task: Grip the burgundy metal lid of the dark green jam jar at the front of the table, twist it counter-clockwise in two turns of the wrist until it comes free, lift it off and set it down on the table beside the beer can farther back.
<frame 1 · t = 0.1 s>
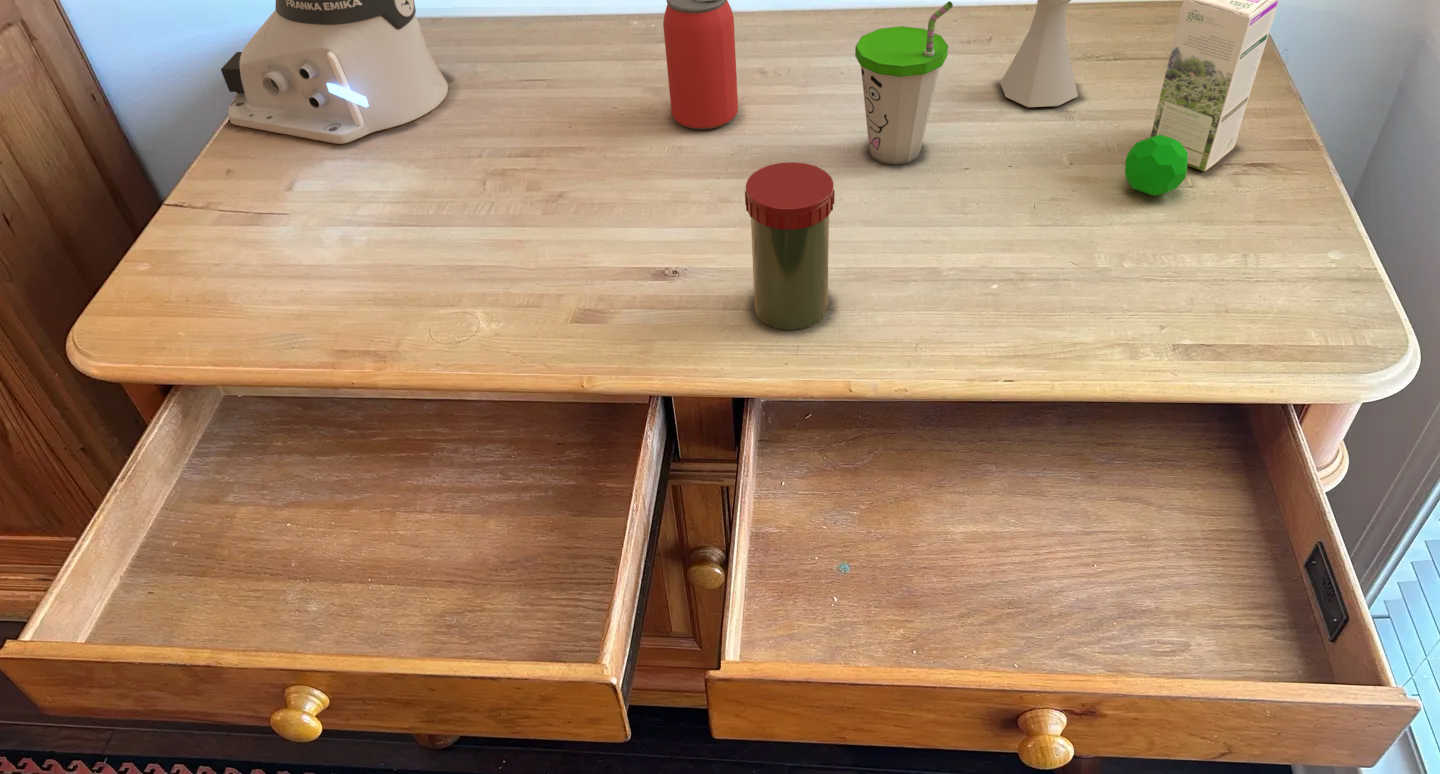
polyhedron: (1149, 192, 90), on the table
syrup box: (1189, 152, 95), on the table
beer can: (705, 117, 104), on the table
jar: (790, 307, 81), on the table
cup: (894, 154, 97), on the table
lid: (789, 189, 74), point 10 cm above the table, screwed on, not yet turned
flask: (1037, 94, 104), on the table
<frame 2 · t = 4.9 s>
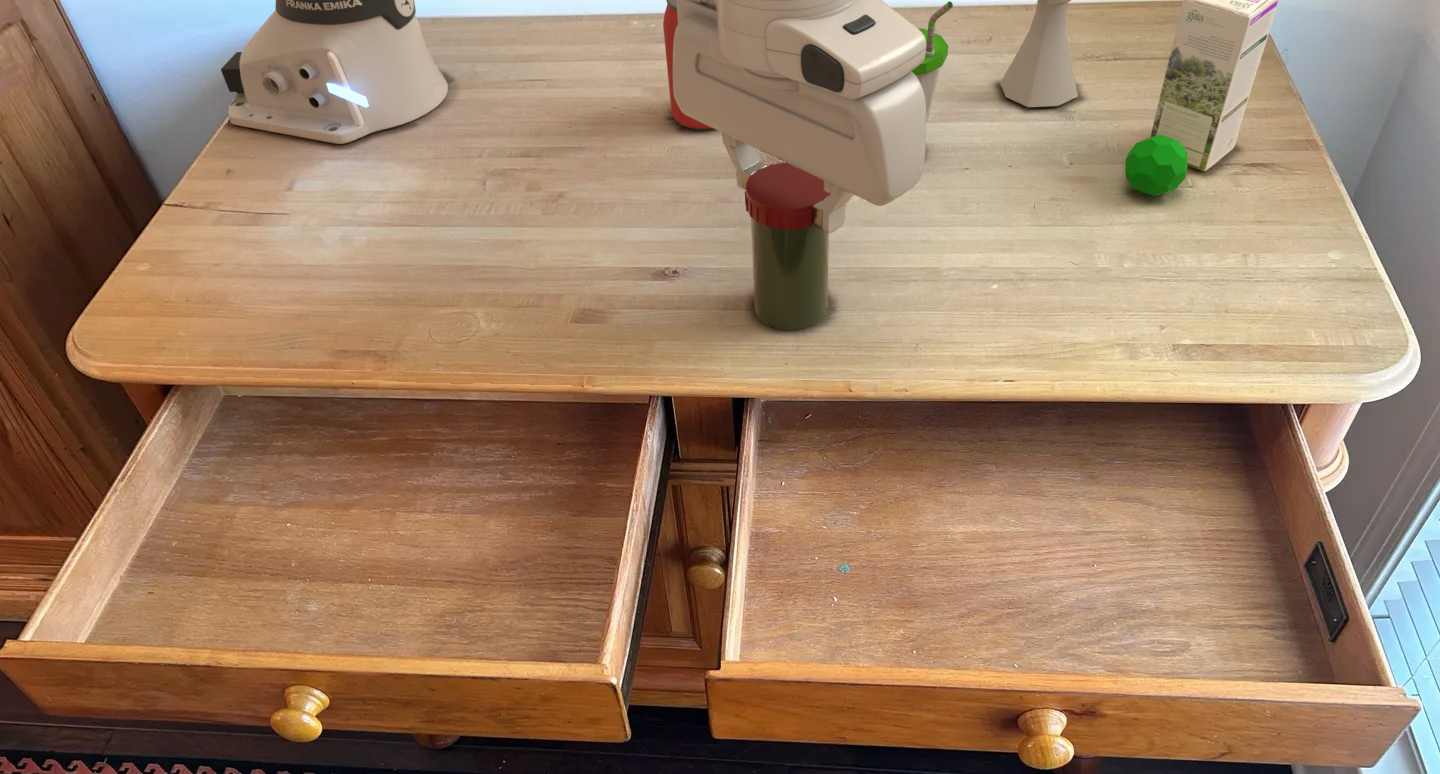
hand: (790, 206, 75), 9 cm above the table, tool pointing down, fingers closed on lid, 6 cm apart
lid: (789, 189, 74), point 10 cm above the table, screwed on, not yet turned, touching gripper
everything else where it was.
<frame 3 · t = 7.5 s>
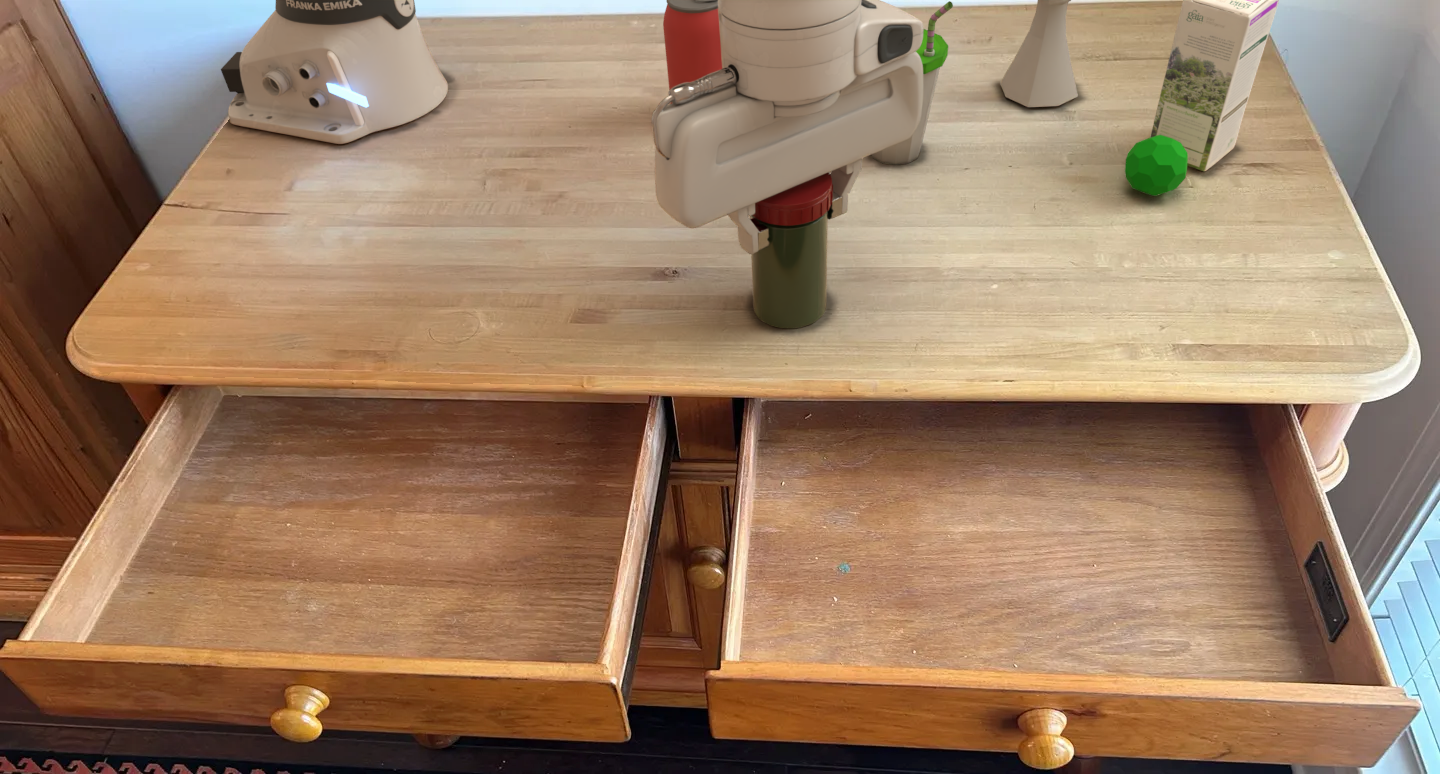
hand: (794, 230, 76), 7 cm above the table, tool pointing down, fingers closed on jar, 5 cm apart
jar: (789, 305, 81), on the table, touching gripper
lid: (788, 185, 74), point 11 cm above the table, turned 80° so far, risen 0.2 cm, still on its thread
everything else where it was.
when the fingers open (7 cm above the table, at t = 9.3 s): jar stays where it is, on the table.
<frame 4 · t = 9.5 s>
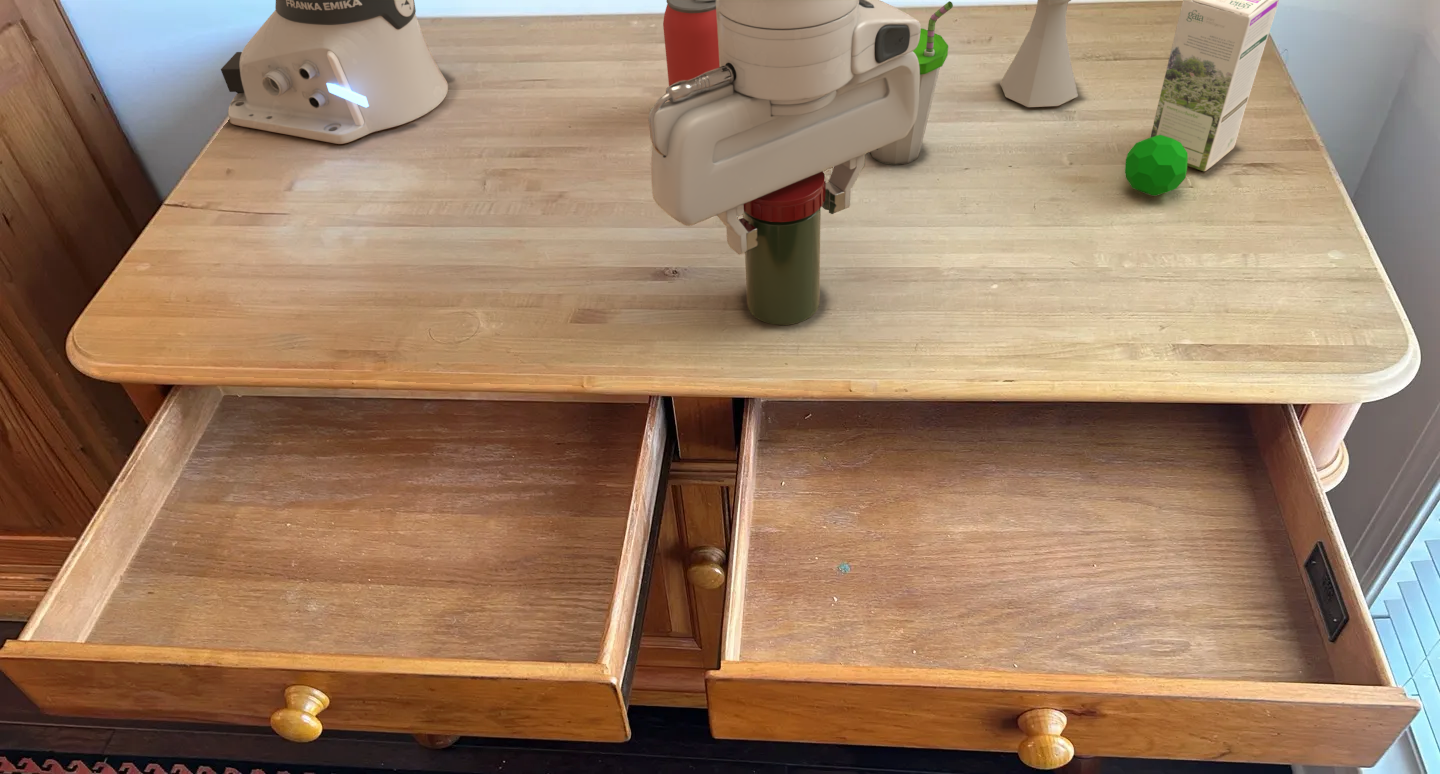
hand: (789, 227, 76), 7 cm above the table, tool pointing down, fingers open, 7 cm apart
jar: (783, 302, 82), on the table
everything else where it was.
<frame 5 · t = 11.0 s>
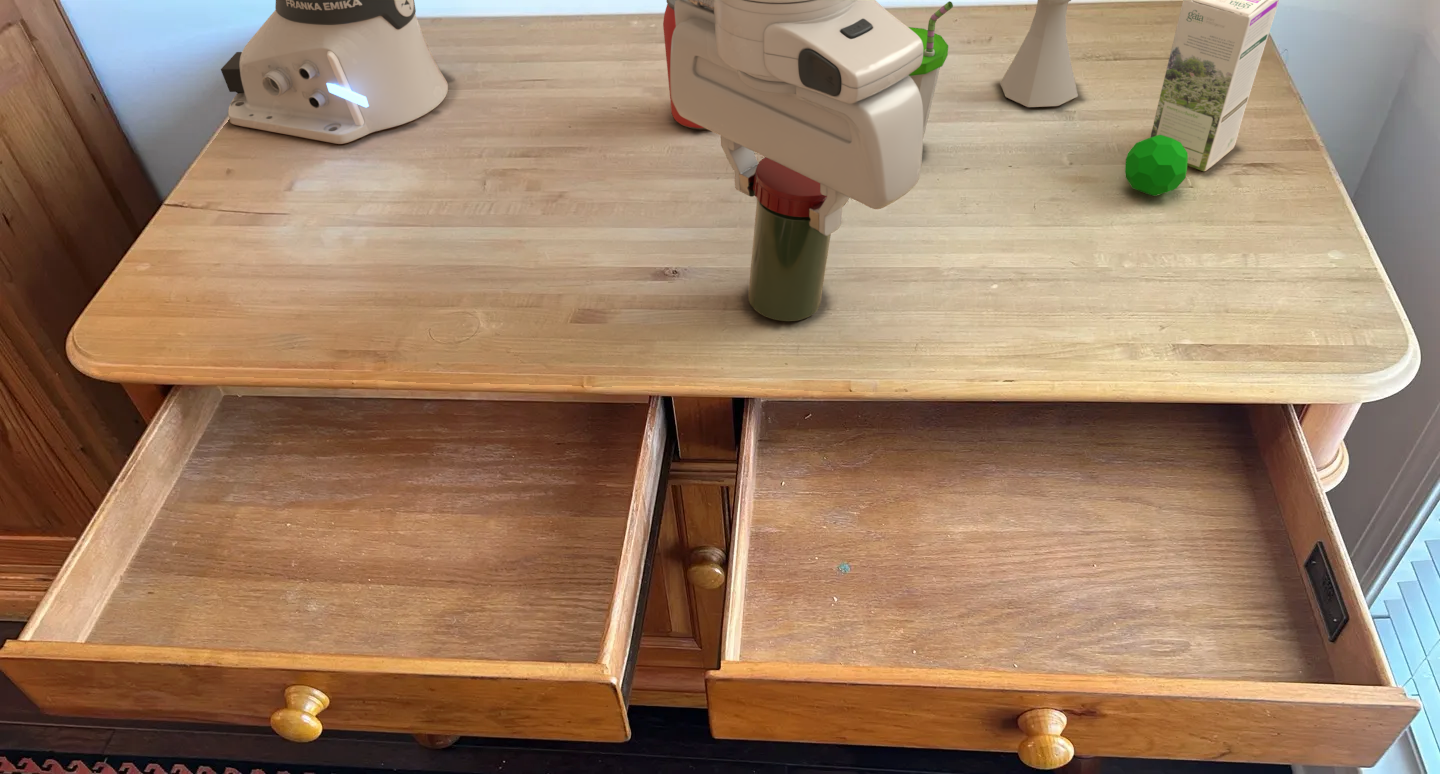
hand: (787, 209, 75), 9 cm above the table, tool pointing down, fingers closed on lid, 6 cm apart
jar: (784, 298, 81), on the table, tilted 6°
lid: (799, 177, 74), point 11 cm above the table, tilted 6°, turned 78° so far, risen 0.2 cm, still on its thread, touching gripper
everything else where it was.
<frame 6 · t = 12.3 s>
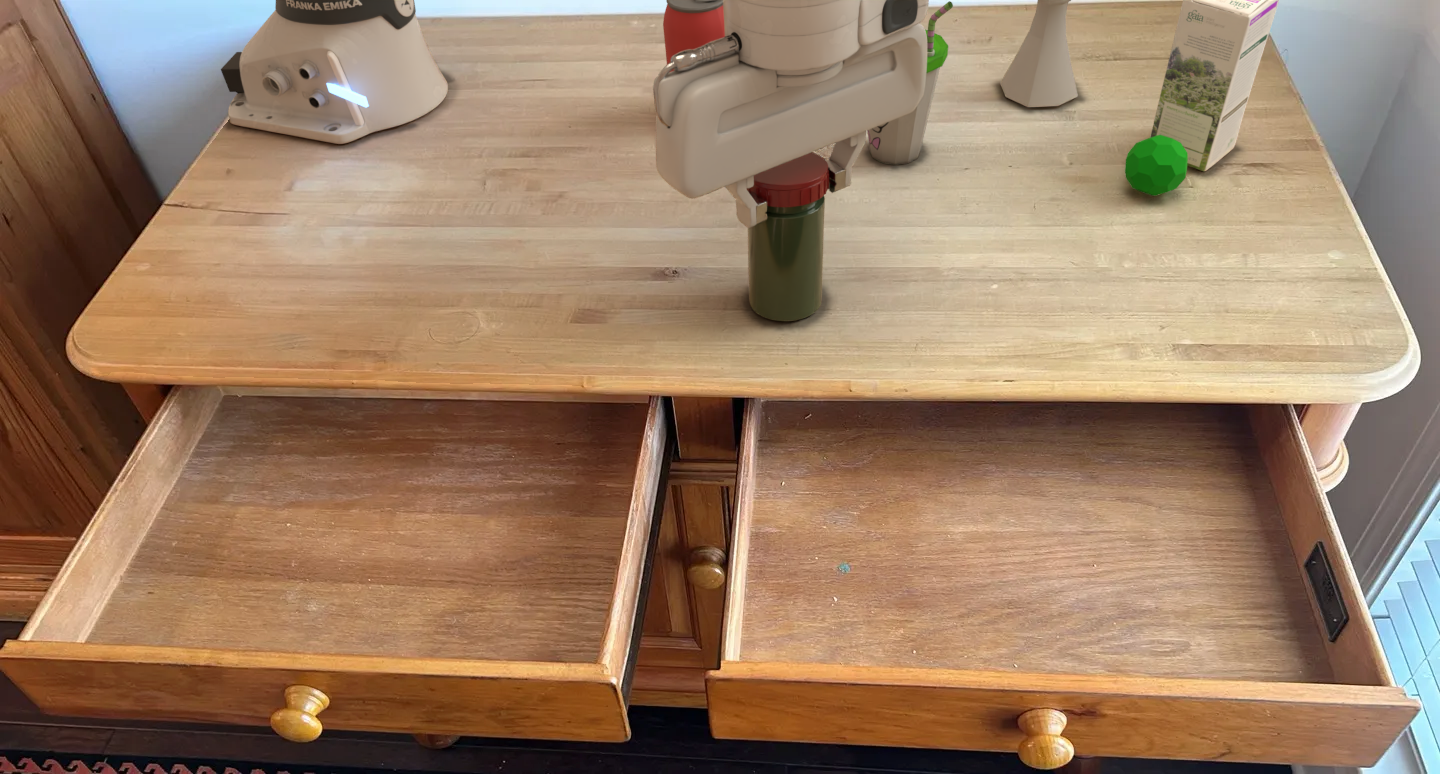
hand: (795, 203, 75), 9 cm above the table, tool pointing down, fingers closed on lid, 6 cm apart
jar: (785, 300, 82), on the table, touching lid
lid: (784, 171, 75), point 11 cm above the table, tilted 6°, off its thread, touching gripper, jar
everything else where it was.
when the fingers open (0 cm above the table, at t = 21.3 s): lid stays where it is, point 1 cm above the table.
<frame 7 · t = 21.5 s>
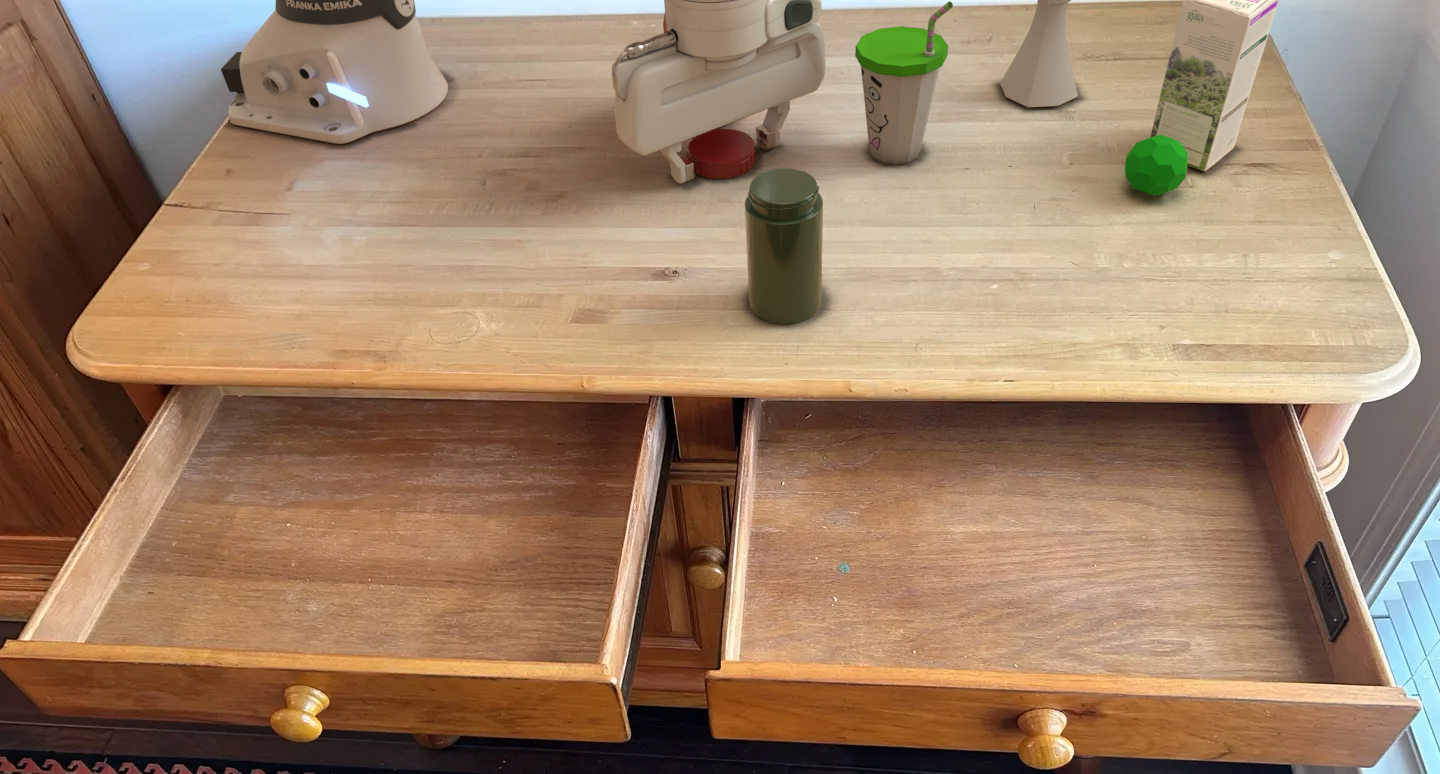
hand: (726, 161, 97), 0 cm above the table, tool pointing down, fingers open, 8 cm apart
jar: (785, 301, 82), on the table
lid: (721, 149, 97), point 1 cm above the table, off its thread
everything else where it was.
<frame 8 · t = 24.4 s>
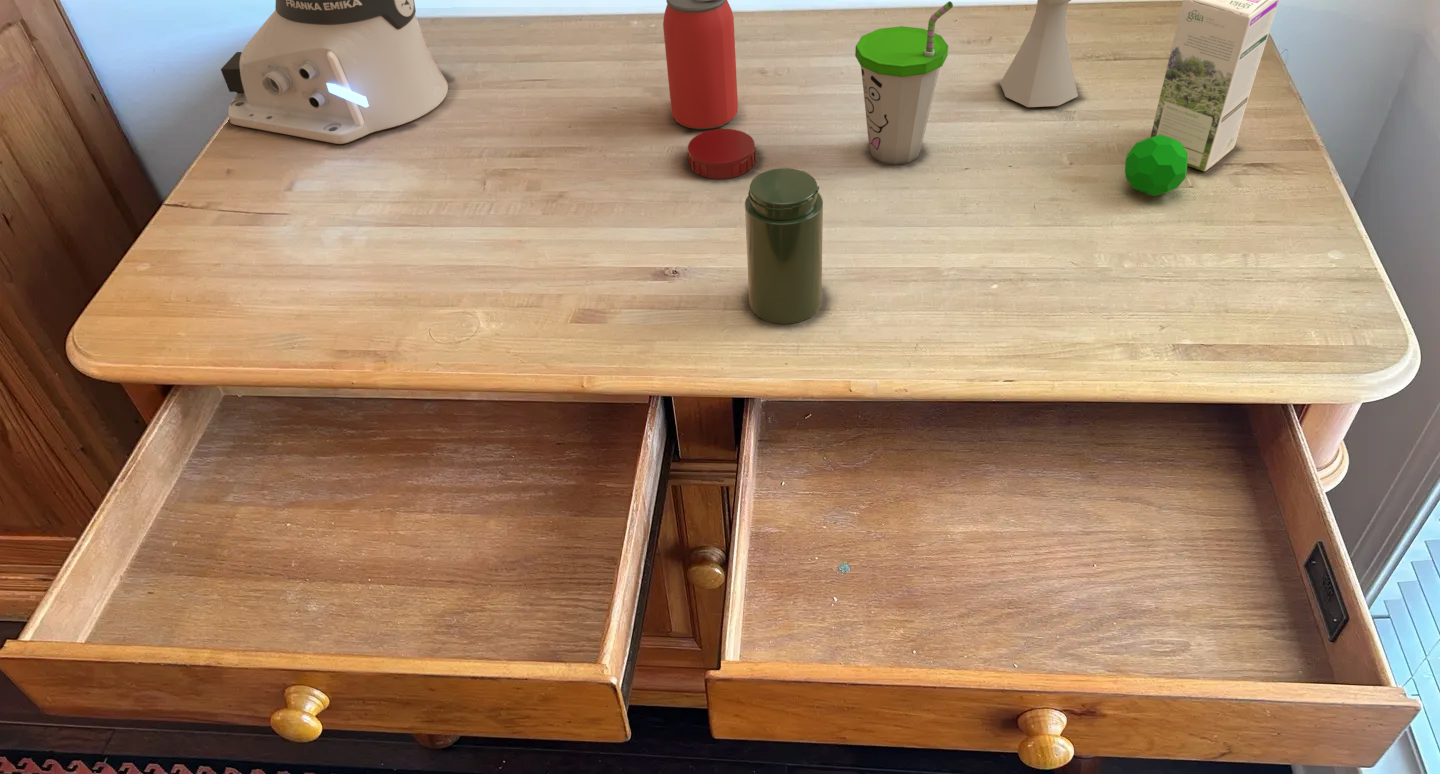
nothing on the table moved.
at the end: lid came off its thread; lid inside the target area on the table beside the beer can (0.9 cm from its centre), point 1.5 cm above the table; the gripper is holding nothing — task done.
